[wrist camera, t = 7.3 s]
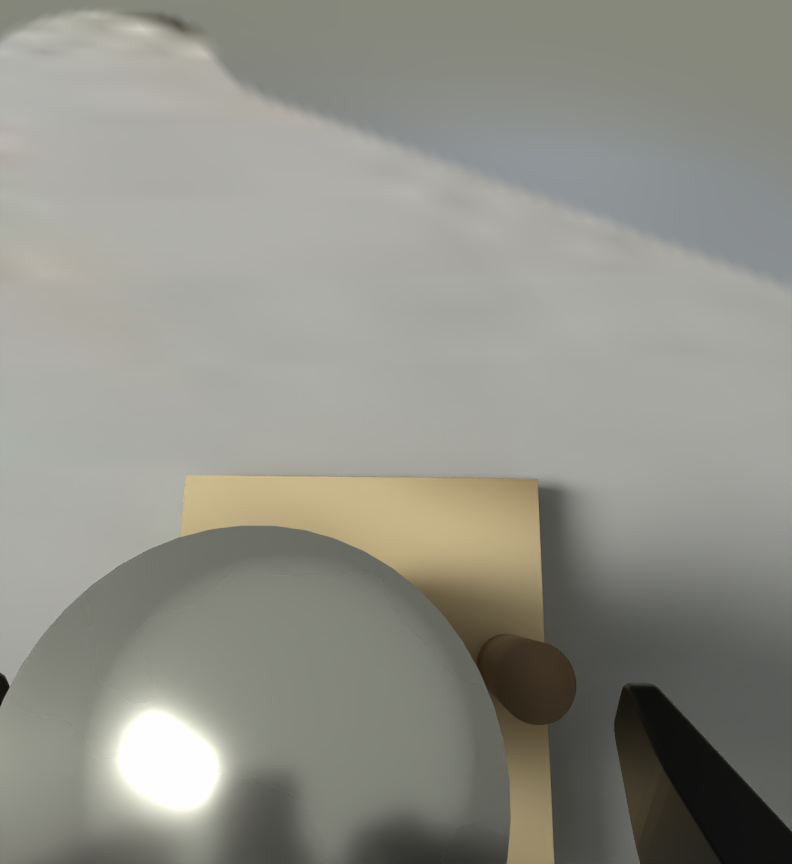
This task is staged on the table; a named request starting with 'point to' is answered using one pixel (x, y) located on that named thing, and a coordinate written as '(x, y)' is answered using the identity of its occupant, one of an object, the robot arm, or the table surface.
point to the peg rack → (441, 591)
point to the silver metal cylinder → (252, 716)
